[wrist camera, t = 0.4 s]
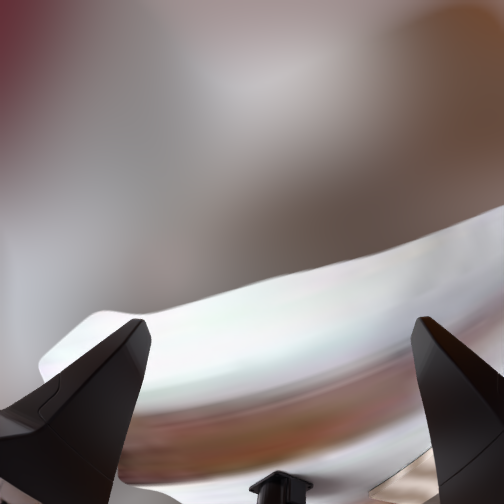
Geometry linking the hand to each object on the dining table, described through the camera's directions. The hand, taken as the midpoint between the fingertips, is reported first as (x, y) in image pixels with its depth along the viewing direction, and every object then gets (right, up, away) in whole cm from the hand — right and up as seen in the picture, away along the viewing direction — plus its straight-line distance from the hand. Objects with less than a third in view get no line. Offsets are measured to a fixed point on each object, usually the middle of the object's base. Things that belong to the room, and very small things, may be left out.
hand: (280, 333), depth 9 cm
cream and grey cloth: (+30, -32, +21) cm, 49 cm away
